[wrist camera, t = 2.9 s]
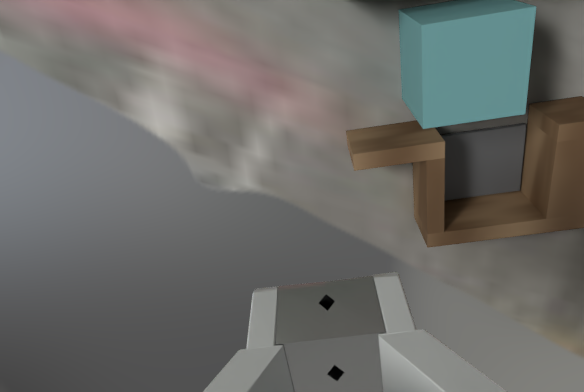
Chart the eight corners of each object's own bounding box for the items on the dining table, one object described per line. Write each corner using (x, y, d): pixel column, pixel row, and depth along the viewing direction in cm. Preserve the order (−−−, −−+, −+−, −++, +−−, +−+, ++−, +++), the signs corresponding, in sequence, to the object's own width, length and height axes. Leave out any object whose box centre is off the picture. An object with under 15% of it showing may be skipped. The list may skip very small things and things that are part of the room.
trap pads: (679, 100, 27) (683, 102, 27) (660, 169, 29) (663, 171, 29) (431, 136, 28) (432, 138, 28) (431, 199, 30) (433, 202, 30)
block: (492, -7, 24) (536, 6, 20) (487, 85, 27) (525, 114, 22) (398, 9, 25) (421, 25, 20) (401, 98, 27) (423, 129, 23)
